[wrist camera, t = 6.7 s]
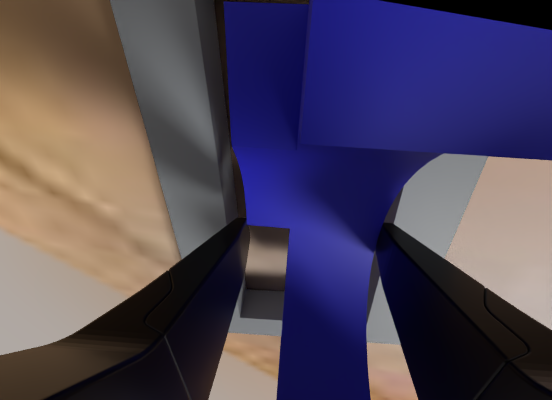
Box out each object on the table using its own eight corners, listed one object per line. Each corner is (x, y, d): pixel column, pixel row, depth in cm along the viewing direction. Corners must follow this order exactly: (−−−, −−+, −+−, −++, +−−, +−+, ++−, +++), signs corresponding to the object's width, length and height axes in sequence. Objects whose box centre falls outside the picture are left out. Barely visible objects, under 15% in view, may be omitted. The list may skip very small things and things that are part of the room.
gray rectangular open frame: (541, -101, 7) (618, -148, 5) (396, 313, 16) (407, 345, 15) (126, -75, 8) (79, -108, 6) (211, 302, 17) (201, 330, 16)
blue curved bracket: (252, 18, 7) (120, -58, 2) (418, 24, 7) (768, -44, 2) (254, 301, 13) (224, 461, 8) (342, 309, 13) (368, 480, 8)
